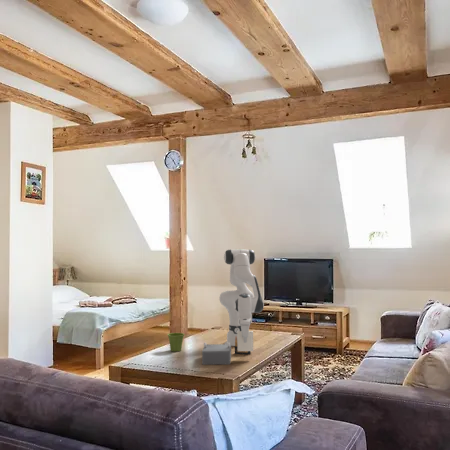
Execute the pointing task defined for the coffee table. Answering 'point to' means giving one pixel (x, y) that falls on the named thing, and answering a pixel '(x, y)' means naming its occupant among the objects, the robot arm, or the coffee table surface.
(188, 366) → the coffee table surface
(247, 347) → the door panel
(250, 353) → the ammunition clip
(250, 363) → the coffee table surface
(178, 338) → the plant pot
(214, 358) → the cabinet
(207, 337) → the coffee table surface
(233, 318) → the robot arm
